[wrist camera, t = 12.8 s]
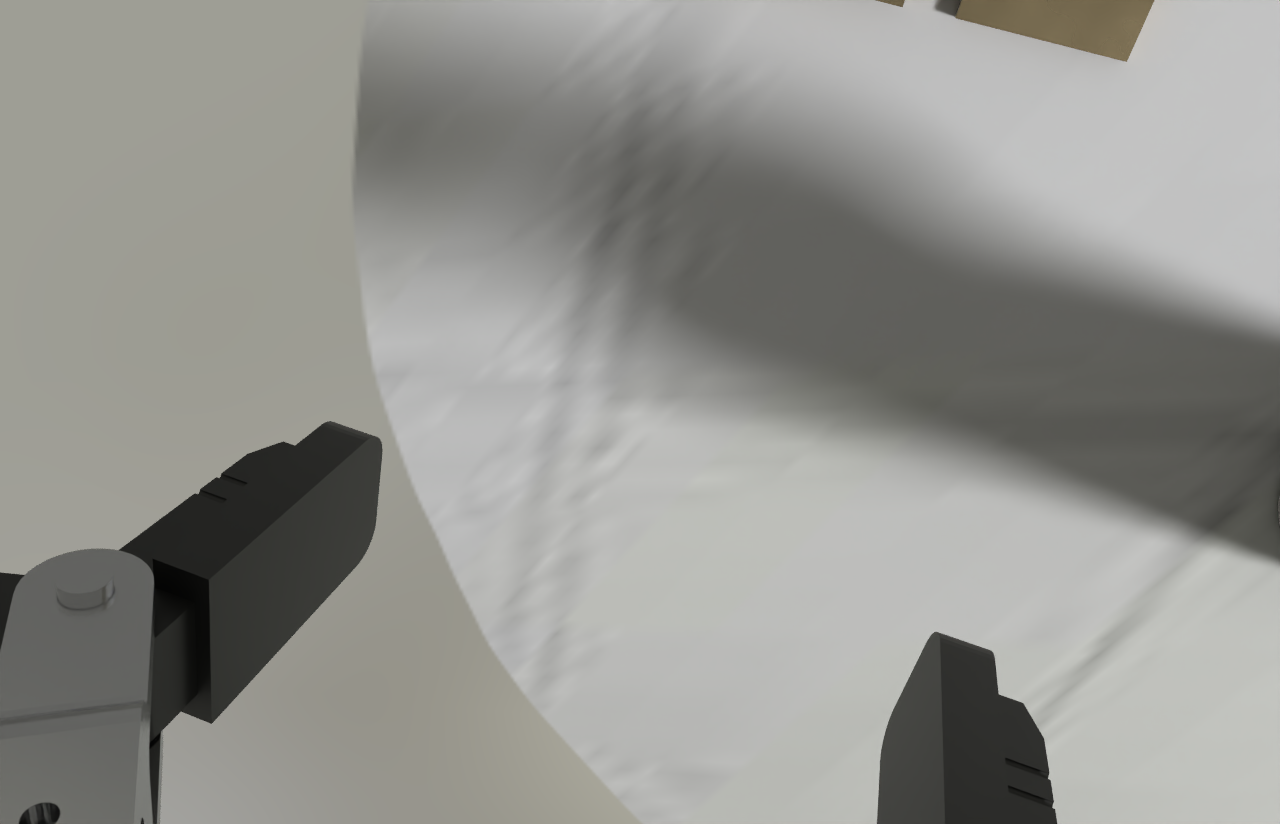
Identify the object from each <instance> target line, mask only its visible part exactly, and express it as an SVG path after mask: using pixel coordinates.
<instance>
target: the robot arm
mask: <svg viewBox="0 0 1280 824" xmlns="http://www.w3.org/2000/svg"><path fill="white" fill-rule="evenodd" d="M381 461H382V444H381V441H380V439H379V438H378V437H375V436H372V435H369V434H367V433H364V432H361V431H358V430H355V429H352V428H349V427H346V426H343V425H340V424H338V423H335V422H331V421H329V422H326V423H324V424H322V425H321V426H320V427H318V428H317V429H316V430H314V431H313V432H312V433H311V434H309V435H308V436H307V437H306V438H305V439H303V440H302V441H300V442H299V443H298V444H297V445H295V446H294V445H291V444H289V443H285V442H281V443H278V444H275V445H272V446H269V447H266V448H263V449H261V450H258V451H255V452H252V453H249V454H247V455H246V456H244V457H243V458H242V459H240V460H239V461H238V462H236V463H235V464H233V466H231V467H229V468H228V469H227V470H225V471H224V472H223V473H222V474H221V477H220V478H215V479H214V480H212V481H211V482H210V483H208V484H207V485H205V486H204V487H203V488H201V489H200V492H199V494H194V495H192V496H191V497H189V498H188V499H187V500H185V501H184V502H183V503H181V504H180V505H179V506H178V507H176V508H175V509H173V510H172V511H171V512H169V513H168V514H167V515H165V516H164V517H163V518H161V519H160V520H159V521H157V522H156V523H154V524H153V525H152V526H150V527H149V528H148V529H147V530H145V531H144V532H142V533H141V534H140V535H139V536H137V537H136V538H134V539H133V540H132V541H130V542H129V543H128V544H126V545H125V546H124V547H122V548H121V549H120V550H111V549H85V550H78V551H73V552H69V553H65V554H62V555H59V556H56V557H53V558H51V559H49V560H46V561H44V562H42V563H41V564H39V565H37V566H36V567H34V568H33V569H32V570H30V571H29V572H28V573H27V574H26V575H18V574H9V573H0V824H160V810H161V783H162V760H163V729H164V728H165V727H166V726H167V725H168V724H169V723H170V722H171V721H172V720H173V719H174V718H175V717H176V716H177V715H178V714H179V713H180V712H181V711H182V712H184V713H187V714H189V715H191V716H194V717H196V718H199V719H201V720H204V721H206V722H209V723H211V724H212V723H213V722H214V721H215V719H217V717H218V716H219V715H220V714H221V713H222V712H223V711H224V710H225V709H226V708H227V707H228V705H229V704H230V703H231V702H232V701H233V700H234V699H235V698H236V697H237V696H238V695H239V693H240V692H241V691H242V690H243V689H244V688H245V687H246V686H247V685H248V684H249V683H250V681H251V680H252V679H253V678H254V677H255V676H256V675H257V674H258V673H259V672H260V671H261V669H262V668H263V667H264V666H265V665H266V664H267V663H268V662H269V661H270V660H271V658H273V656H274V655H275V654H276V653H277V652H278V651H279V650H280V649H281V648H282V647H283V646H284V644H285V643H286V642H287V641H288V640H289V639H290V638H291V636H293V635H294V634H295V632H296V631H297V630H298V629H299V628H300V627H301V626H302V625H303V624H304V623H305V622H306V621H307V619H308V618H309V617H310V616H311V615H312V614H313V613H314V612H315V611H316V610H317V609H318V607H319V606H320V605H321V604H322V603H323V602H324V601H325V600H326V599H327V598H328V596H329V595H330V594H331V593H332V592H333V591H334V590H335V589H336V588H337V587H338V586H339V585H340V584H341V582H342V581H343V580H344V579H345V578H346V577H347V576H348V575H349V574H350V573H351V572H352V570H353V569H354V568H355V567H356V566H357V565H358V564H359V562H360V561H361V559H362V558H363V556H364V555H365V553H366V551H367V549H368V547H369V545H370V542H371V540H372V537H373V533H374V530H375V525H376V516H377V505H378V494H379V483H380V472H381ZM1278 516H1279V526H1280V497H1279V501H1278ZM1048 775H1049V768H1048V761H1047V755H1046V748H1045V742H1044V738H1043V736H1042V735H1041V733H1040V731H1039V729H1038V728H1037V726H1036V724H1035V723H1034V721H1033V719H1032V717H1031V716H1030V714H1029V712H1028V711H1027V709H1026V707H1025V706H1024V704H1023V703H1021V702H1018V701H1016V700H1013V699H1010V698H1007V697H1004V696H1001V695H998V685H997V675H996V665H995V658H994V654H993V652H992V651H990V650H988V649H985V648H982V647H979V646H976V645H973V644H970V643H967V642H964V641H962V640H959V639H956V638H953V637H950V636H947V635H944V634H941V633H938V632H934V633H933V634H932V635H931V636H930V638H929V639H928V641H927V643H926V645H925V647H924V649H923V651H922V653H921V655H920V657H919V659H918V661H917V663H916V665H915V667H914V669H913V671H912V673H911V675H910V677H909V679H908V681H907V683H906V685H905V687H904V689H903V691H902V693H901V695H900V697H899V699H898V702H897V704H896V706H895V708H894V710H893V712H892V714H891V717H890V719H889V722H888V725H887V728H886V732H885V736H884V740H883V745H882V750H881V759H880V777H879V796H878V816H877V824H1057V819H1056V813H1055V809H1053V808H1052V805H1053V802H1054V800H1053V794H1052V787H1051V781H1050V780H1049V779H1048Z"/></svg>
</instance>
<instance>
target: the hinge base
mask: <svg viewBox="0 0 1280 824" xmlns="http://www.w3.org/2000/svg"><path fill="white" fill-rule="evenodd" d="M877 1H881V2H884V3H888V4H892V5H896V6H900V7H903V4H904V1H905V0H877ZM1153 2H1154V0H961V1H960V4H959V7H958V10H957V12H956V15H955V18H957V19H961V20H965V21H969V22H973V23H977V24H981V25H985V26H989V27H992V28H996V29H1000V30H1004V31H1008V32H1012V33H1016V34H1020V35H1024V36H1028V37H1032V38H1036V39H1039V40H1043V41H1047V42H1051V43H1055V44H1059V45H1063V46H1067V47H1071V48H1075V49H1079V50H1083V51H1086V52H1090V53H1094V54H1098V55H1102V56H1106V57H1110V58H1114V59H1118V60H1122V61H1126V62H1127V60H1128V58H1129V56H1130V53H1131V51H1132V49H1133V47H1134V44H1135V42H1136V40H1137V38H1138V35H1139V33H1140V31H1141V29H1142V27H1143V24H1144V22H1145V20H1146V18H1147V15H1148V13H1149V11H1150V9H1151V6H1152V4H1153Z"/></svg>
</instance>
